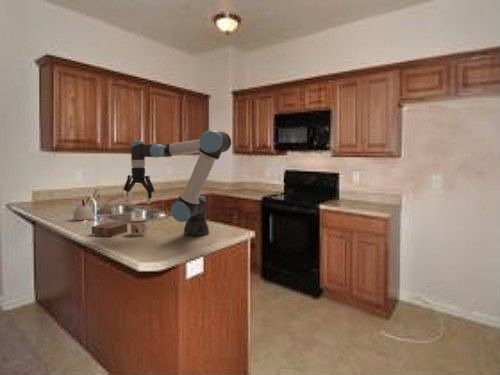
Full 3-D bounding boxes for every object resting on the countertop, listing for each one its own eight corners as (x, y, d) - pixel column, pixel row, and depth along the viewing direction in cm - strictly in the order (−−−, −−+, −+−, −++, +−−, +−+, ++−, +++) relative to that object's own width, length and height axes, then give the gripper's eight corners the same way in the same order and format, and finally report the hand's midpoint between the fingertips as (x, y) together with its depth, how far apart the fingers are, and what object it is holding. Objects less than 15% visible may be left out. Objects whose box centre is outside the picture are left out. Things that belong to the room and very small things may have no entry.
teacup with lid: (127, 234, 198) (127, 215, 196) (140, 231, 205) (140, 213, 204) (140, 237, 191) (139, 217, 189) (153, 234, 198) (152, 215, 197)
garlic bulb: (92, 217, 250) (91, 197, 248) (96, 220, 239) (95, 200, 237) (71, 219, 242) (70, 199, 240) (75, 222, 231) (74, 201, 229)
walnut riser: (127, 231, 205) (127, 223, 204) (110, 237, 191) (110, 228, 191) (109, 230, 209) (108, 222, 209) (91, 235, 196) (91, 226, 196)
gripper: (116, 166, 194) (117, 202, 196) (152, 167, 186) (153, 205, 188) (125, 166, 201) (126, 201, 204) (160, 167, 193) (160, 203, 195)
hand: (139, 203), depth 196 cm, fingers open, 13 cm apart
